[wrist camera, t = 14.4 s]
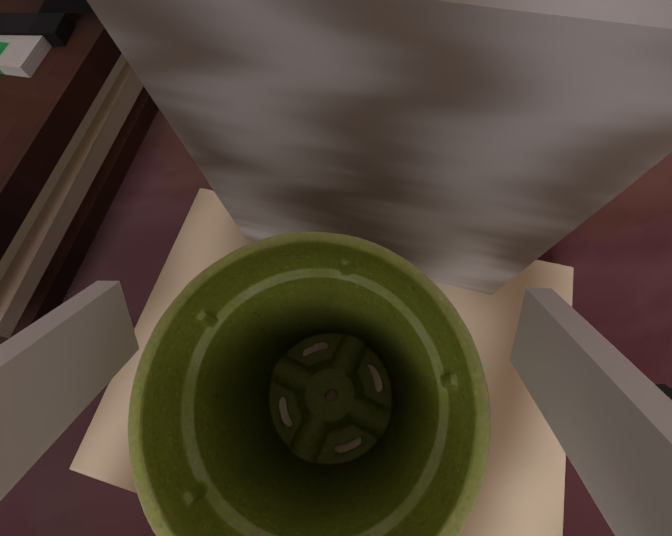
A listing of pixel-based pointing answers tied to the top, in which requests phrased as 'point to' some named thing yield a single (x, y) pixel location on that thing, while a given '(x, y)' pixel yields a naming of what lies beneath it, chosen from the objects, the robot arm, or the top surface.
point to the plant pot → (309, 398)
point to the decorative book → (58, 147)
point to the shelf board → (404, 167)
